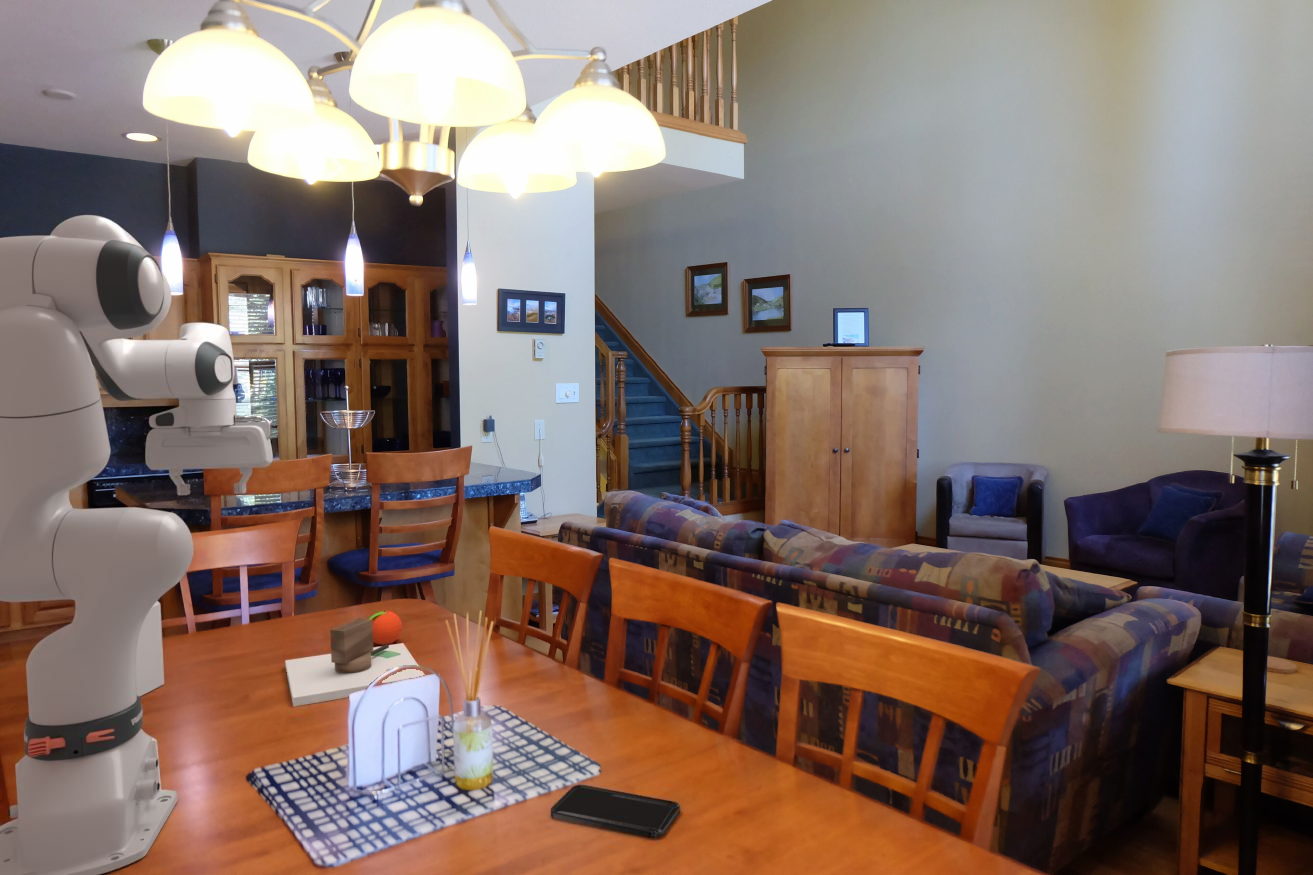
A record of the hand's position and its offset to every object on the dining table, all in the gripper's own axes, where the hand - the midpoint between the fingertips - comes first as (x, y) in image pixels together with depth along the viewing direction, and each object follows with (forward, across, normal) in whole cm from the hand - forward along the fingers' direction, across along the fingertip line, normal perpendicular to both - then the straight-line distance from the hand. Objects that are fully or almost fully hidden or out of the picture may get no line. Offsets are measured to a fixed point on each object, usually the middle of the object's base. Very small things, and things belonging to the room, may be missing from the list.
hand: (212, 494), depth 147 cm
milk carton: (+35, +15, -1) cm, 38 cm away
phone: (+36, -67, +54) cm, 93 cm away
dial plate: (+35, -22, -3) cm, 42 cm away
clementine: (+35, -24, -22) cm, 48 cm away
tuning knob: (+33, -24, -6) cm, 41 cm away
